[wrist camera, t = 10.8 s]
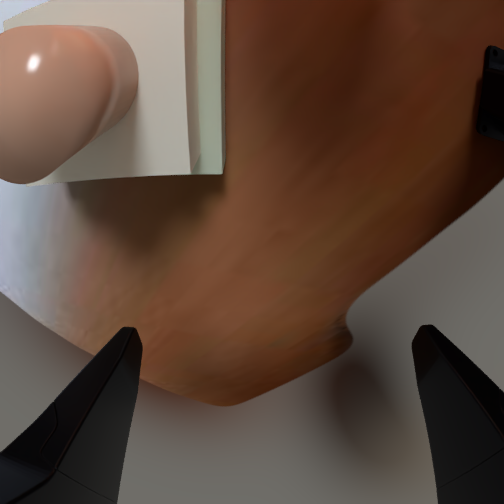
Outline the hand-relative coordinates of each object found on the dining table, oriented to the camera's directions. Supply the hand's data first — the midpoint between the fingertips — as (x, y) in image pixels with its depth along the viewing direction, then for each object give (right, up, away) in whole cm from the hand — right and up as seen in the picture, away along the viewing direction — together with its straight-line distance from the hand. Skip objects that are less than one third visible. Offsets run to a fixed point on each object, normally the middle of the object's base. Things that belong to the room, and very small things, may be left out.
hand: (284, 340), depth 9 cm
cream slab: (-8, +11, +4) cm, 14 cm away
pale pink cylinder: (-8, +10, +1) cm, 13 cm away
